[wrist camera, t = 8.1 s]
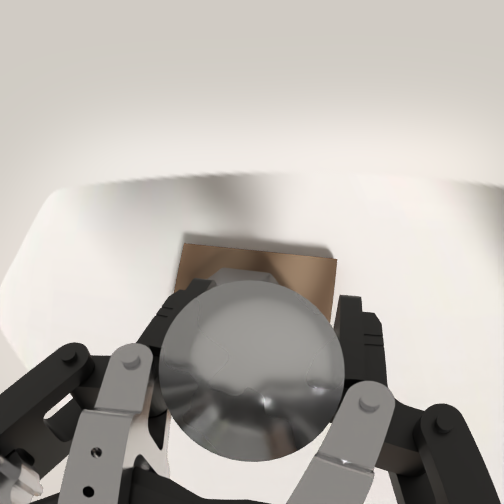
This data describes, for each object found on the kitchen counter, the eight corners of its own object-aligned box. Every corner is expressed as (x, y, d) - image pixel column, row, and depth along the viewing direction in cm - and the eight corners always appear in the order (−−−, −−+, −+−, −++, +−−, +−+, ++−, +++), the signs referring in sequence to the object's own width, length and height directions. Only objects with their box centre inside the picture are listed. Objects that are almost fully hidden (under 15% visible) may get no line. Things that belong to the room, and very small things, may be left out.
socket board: (336, 263, 27) (339, 250, 24) (313, 419, 24) (312, 431, 20) (189, 247, 31) (172, 234, 27) (165, 388, 27) (144, 393, 23)
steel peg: (331, 317, 14) (355, 291, 7) (318, 406, 13) (325, 473, 6) (241, 306, 15) (174, 270, 8) (228, 393, 14) (149, 436, 7)
